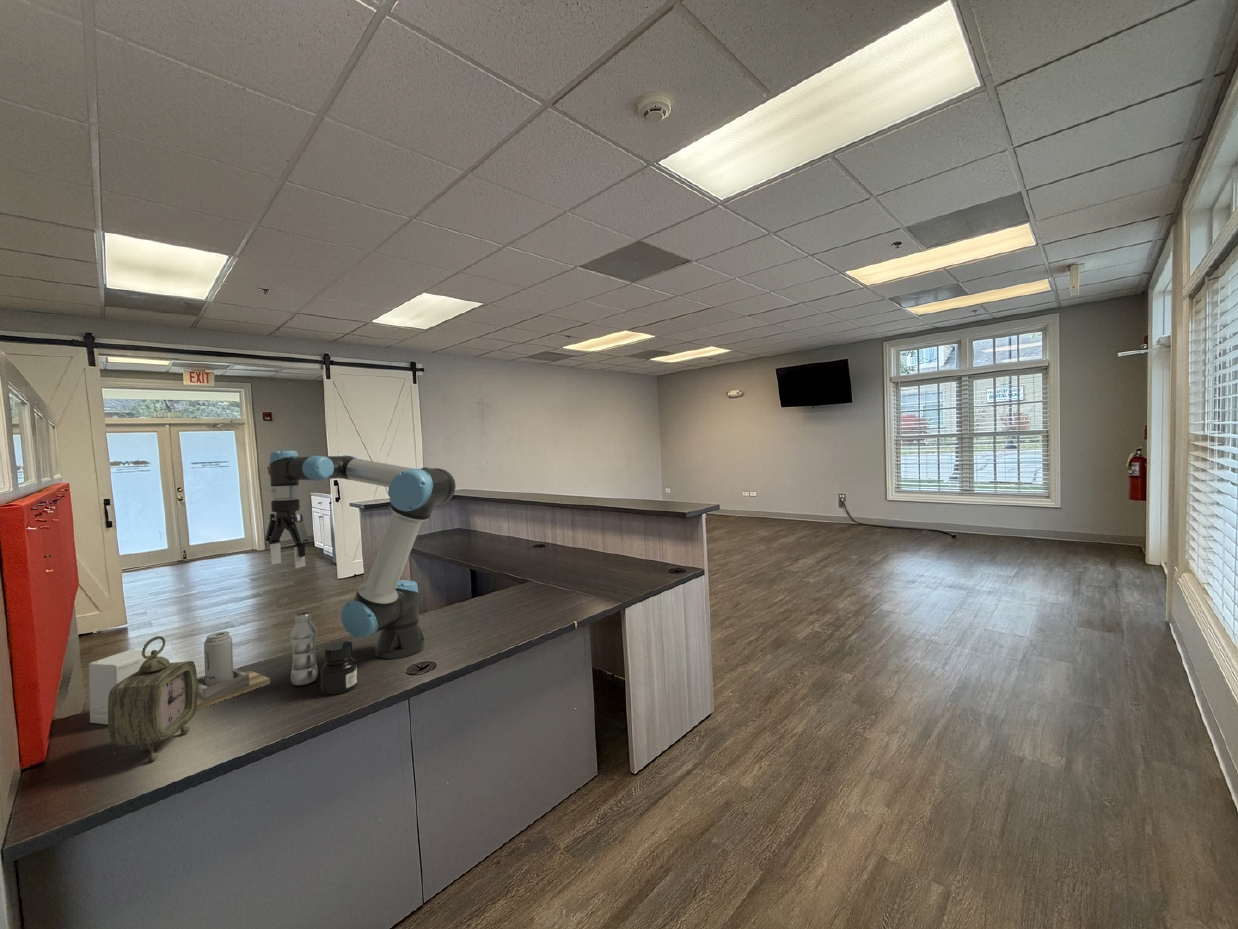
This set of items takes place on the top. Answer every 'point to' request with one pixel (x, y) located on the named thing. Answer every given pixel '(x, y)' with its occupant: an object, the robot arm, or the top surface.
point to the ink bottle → (338, 669)
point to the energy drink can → (218, 658)
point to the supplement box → (110, 680)
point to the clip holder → (228, 687)
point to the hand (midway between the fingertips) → (287, 565)
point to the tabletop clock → (152, 702)
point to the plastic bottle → (303, 650)
